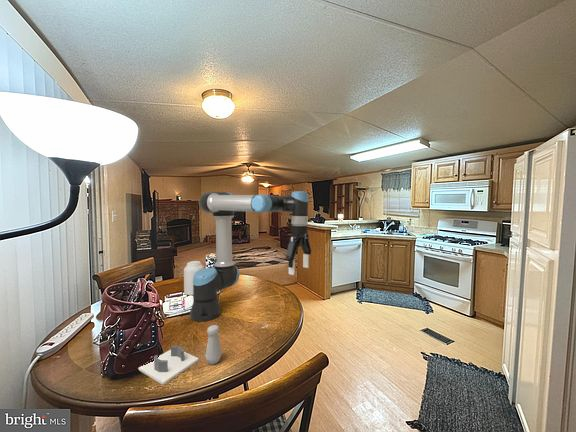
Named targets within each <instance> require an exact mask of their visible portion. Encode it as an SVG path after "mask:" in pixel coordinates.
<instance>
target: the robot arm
mask: <svg viewBox="0 0 576 432" xmlns="http://www.w3.org/2000/svg"><path fill="white" fill-rule="evenodd" d="M198 206H199V208H200V210H201V211H203V212H204V213H207V214H212V217H213V218H214V219H215V247H216V248H215V249H216V254H215V255H216V262H214V264H213V267H207V268H204V269H201V270H199V271H197V272H196V273H195V274H194V276H193V295H192V300H193V302H192V306H191V309H190V311H189V318H190V320H191V321H195V322H207V321H212V320H215V319H216V318H218V317H219V316H220V315H221V306H220V304H219V301H218V291H221V290H223V289H227V288H230V287H232V286H234V285H235V284H236V283H238V280H239V279H240V270H239V269H238V266H237V265H236V262H234V261H233V244H232V243H233V238H232V237H233V236H232V230H233V229H232V219H233V218H234V217H235V213H236V212H252V213H253V212H255V213H260V214H262V213H263V214H264V213H280V212H281V213H282V212H283V213H285V212H286V213H287V212H289V213H291V226H290V227H291V228H290V229H291V234H292V235H293V236H290V237H289V241H288V246H287V250H286V254H285V258H284V259H286V260H288V275H291V276H294V275H295V272H296V270H295V267H296V260H295V257H296V254H297V251H298V250H299V248H300V247H301V250H302V251H303V254H302V258H303V260H302V268H306V269H309V266H310V264H309V263H310V255H311V254H312V248H311V244H310V238H309V234H308V233H309V227H308V226H309V225H308V223H309V194H308V192H307V191H303V190H300V191H299V190H298V191H295V190H294V191H292V192H291V195H271V194H270V195H269V194H233V193H231V192H227V191H226V192H225V191H224V192H223V191H206V192H204V193H202V194H201V195H200V196H199V199H198Z"/></svg>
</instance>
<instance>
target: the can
mask: <svg viewBox="0 0 576 432" xmlns="http://www.w3.org/2000/svg"><path fill="white" fill-rule="evenodd" d="M201 269H205V266H204V265H203V264H202V262H201V261H199V260H192V261H189V262H187V263H186V266H185V267H184V269H183V293H184V294H185V293H186V294H185V295H187V296H193V276H194V274H195V273H196V272H197V271H199V270H201Z"/></svg>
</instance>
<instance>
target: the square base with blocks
mask: <svg viewBox="0 0 576 432" xmlns="http://www.w3.org/2000/svg"><path fill="white" fill-rule="evenodd" d="M157 357H158V354H155V355H153V359H154V361H153V362H150V363H148V362H147V363H148V364H146V363H145V364H146V365H144V364H143V366H142V365H140V366H139V367H138V368H137V369H138V370H139V372H141V373H142V374H144V375H146V376H147V377H149V378H151V379H152V380H154V381H156V382H157V383H159V384H160V385H162V386H163V385H165V384H167V383H168V382H169V381H171V380H173V379H174V378H176V377H177V376H178V375H180V374H182V372H184V371H186V370H188V369H189V368H190V367H191V366H193V365H194V364H196V363H198V361H199V357H197V356H194V355H192V354H190V353H188V352H186V351H185V350H184V347H183V346H180V345H171V347H170V349H169V350H167V351H165V352H164V353H162V354H160V355H159V357H158V358H157Z"/></svg>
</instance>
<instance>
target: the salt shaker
mask: <svg viewBox="0 0 576 432" xmlns="http://www.w3.org/2000/svg"><path fill="white" fill-rule="evenodd" d="M206 331H207V332H206V333H207V335H208V339H207V344H206V351H205V356H204V357H205V360H206V362H207V364H209V365H211V366H212V365H213V366H214V365H216V364H218V363H219V362H220V360H221V357H222V348H221V343H220V337H219V333H220V326H219V325H217V324H213V325H210V326H209V327H207V329H206Z"/></svg>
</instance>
